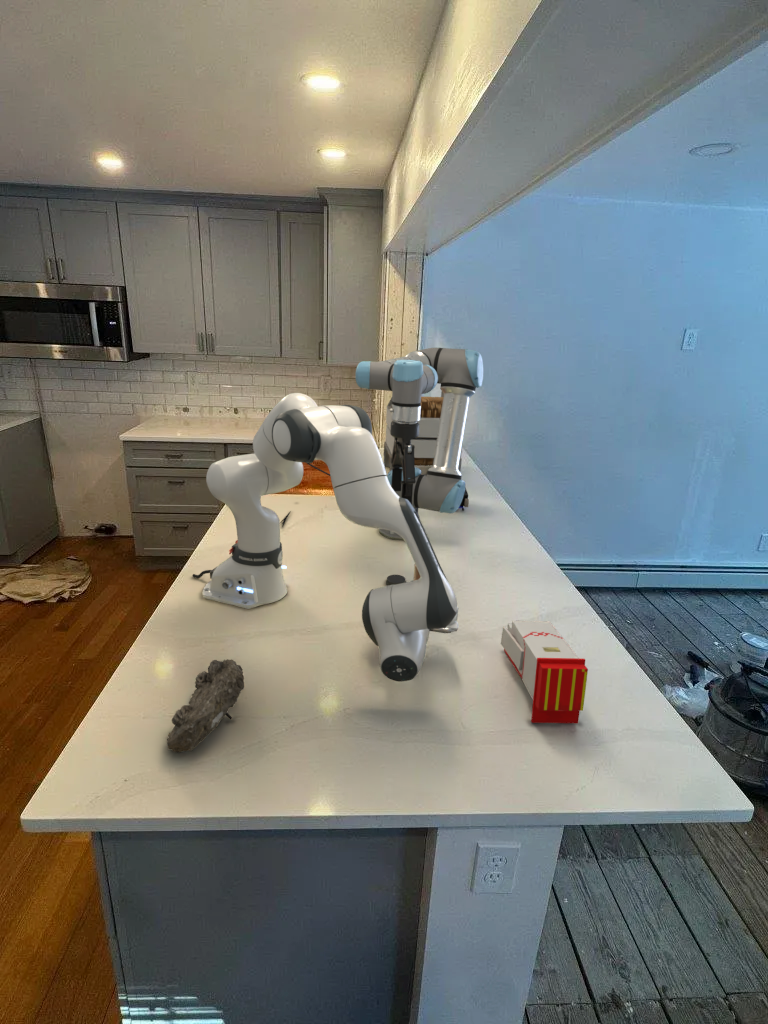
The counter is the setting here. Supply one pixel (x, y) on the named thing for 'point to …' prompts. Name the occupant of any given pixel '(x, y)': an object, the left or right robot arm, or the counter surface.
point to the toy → (547, 670)
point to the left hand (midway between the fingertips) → (416, 596)
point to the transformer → (427, 433)
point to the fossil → (206, 705)
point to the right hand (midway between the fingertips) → (400, 498)
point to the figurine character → (464, 500)
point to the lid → (395, 580)
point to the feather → (285, 518)
